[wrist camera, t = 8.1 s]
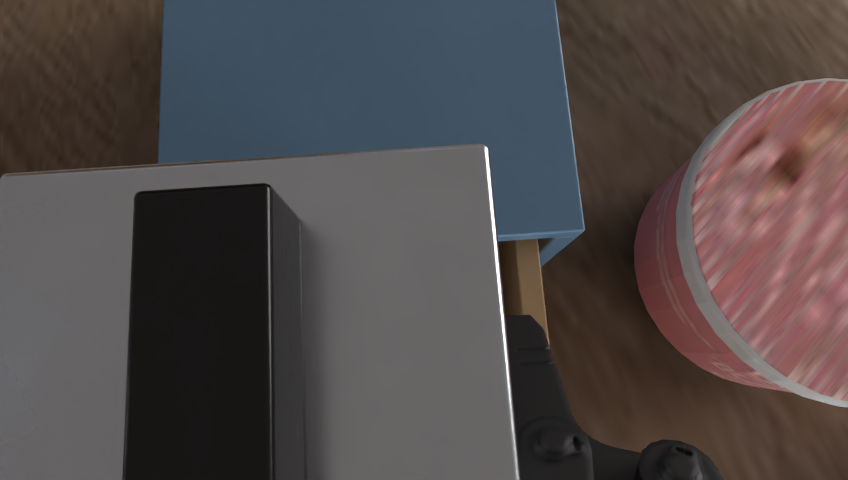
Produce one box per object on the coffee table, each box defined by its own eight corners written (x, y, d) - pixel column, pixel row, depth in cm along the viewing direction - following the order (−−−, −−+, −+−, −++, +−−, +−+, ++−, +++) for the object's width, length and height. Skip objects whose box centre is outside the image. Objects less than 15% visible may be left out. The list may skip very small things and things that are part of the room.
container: (891, 268, 25) (1101, 227, 17) (748, 448, 24) (907, 491, 16) (703, 117, 27) (817, 16, 19) (557, 276, 25) (616, 238, 17)
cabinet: (539, 269, 25) (586, 231, 18) (234, 289, 25) (153, 259, 18) (507, -19, 28) (536, -154, 21) (235, -2, 28) (166, -132, 21)
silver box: (333, 476, 21) (-254, 1213, 3) (328, 317, 23) (-105, 127, 4) (451, 468, 22) (614, 1141, 3) (439, 310, 23) (504, 88, 4)
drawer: (572, 669, 21) (626, 783, 15) (240, 694, 21) (171, 817, 15) (523, 215, 25) (552, 172, 19) (241, 233, 25) (185, 195, 19)
